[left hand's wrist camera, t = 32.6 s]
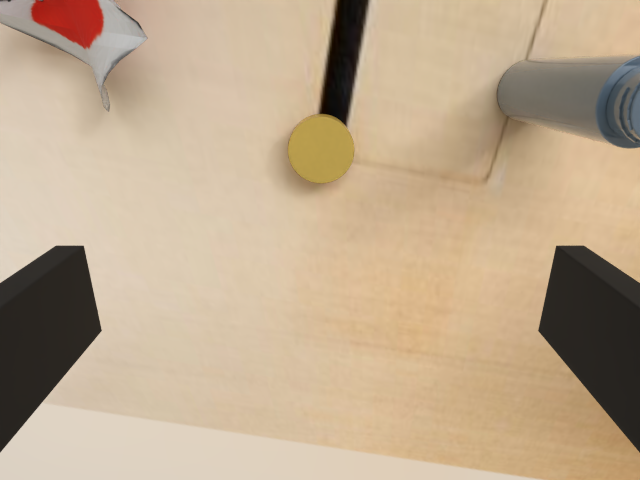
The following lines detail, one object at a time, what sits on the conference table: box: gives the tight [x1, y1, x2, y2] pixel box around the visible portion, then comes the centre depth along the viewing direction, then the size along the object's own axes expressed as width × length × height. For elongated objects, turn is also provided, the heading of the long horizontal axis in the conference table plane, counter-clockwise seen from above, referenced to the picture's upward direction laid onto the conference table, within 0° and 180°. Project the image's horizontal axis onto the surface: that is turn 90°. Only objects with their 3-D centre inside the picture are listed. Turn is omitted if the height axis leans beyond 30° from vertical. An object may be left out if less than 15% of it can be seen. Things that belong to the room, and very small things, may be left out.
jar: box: [497, 54, 640, 148], centre depth 28 cm, size 5×5×16 cm
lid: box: [288, 114, 354, 183], centre depth 36 cm, size 5×5×2 cm
